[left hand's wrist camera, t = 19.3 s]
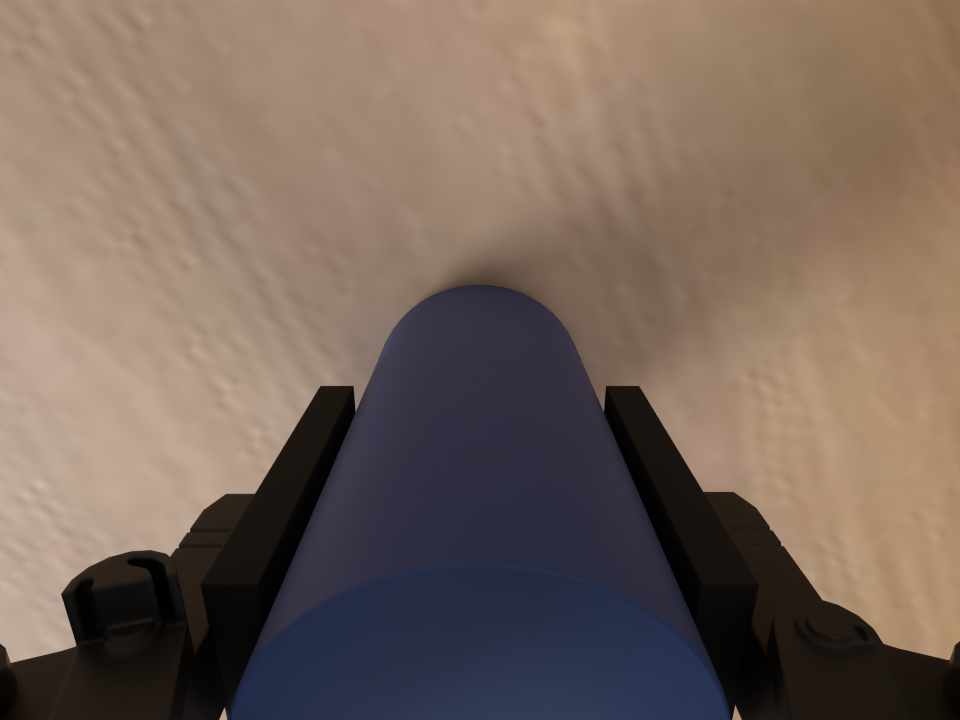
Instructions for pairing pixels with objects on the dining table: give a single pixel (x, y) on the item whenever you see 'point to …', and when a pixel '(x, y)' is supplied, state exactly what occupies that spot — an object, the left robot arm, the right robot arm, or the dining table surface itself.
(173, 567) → the left robot arm
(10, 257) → the dining table surface
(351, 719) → the canister
